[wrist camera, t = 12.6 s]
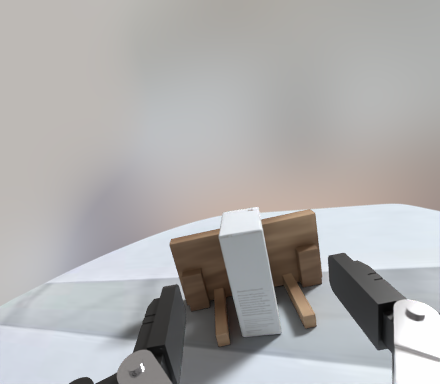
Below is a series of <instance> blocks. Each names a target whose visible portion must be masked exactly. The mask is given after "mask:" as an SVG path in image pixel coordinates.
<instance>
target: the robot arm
mask: <svg viewBox="0 0 440 384" xmlns="http://www.w3.org/2000/svg"><path fill="white" fill-rule="evenodd" d="M328 266H329V281H330V285H331V288H332V290H333V292H334V294H335V295H336V296H337V298H338V299H339V300H340V301H341V303H342V304H343V305H344V307H345V308H346V309H347V311H348V312H349V313H350V315H351V316H352V317H353V319H354V320H355V321H356V322H357V324H358V325H359V326H360V328H361V329H362V330H363V332H364V333H365V334H366V336H367V337H368V338H369V340H370V341H371V342H372V343H373V345H374V346H375V347H376V349H377V350H383V349H389V350H390V351H391V353H392V384H440V313H437V312H436V311H435V310H434V309H433V308H431V307H430V306H428V305H426V304H424V303H421V302H419V301H415V300H407V299H406V298H405V297H404V296H403V295H402V294H401V293H399V292H398V291H397V290H396V289H395V288H394V287H392V286H391V285H390V284H389V283H388V282H387V281H385V280H384V279H383V278H382V277H381V276H380V275H379V274H376V272H375V271H374V270H373V269H372V268H370V267H369V266H368V265H366V264H364V263H362V262H360V261H353V260H352V259H351V258H350V257H349V256H347V255H346V254H345V253H340V254H335V255H330V256H329V257H328ZM185 324H186V312H185V307H184V303H183V299H182V296H181V292H180V288H179V286H178V284H176V285H171V286H165V287H163V289H162V292H161V296H160V298H157V299H154V300H153V301H152V302H151V304H150V305H149V306H148V308H147V311H146V314H145V318H144V320H143V325H142V326H141V329H140V332H139V336H138V339H137V342H136V345H135V348H134V351H133V353H132V354H131V355H129V356H128V357H127V358H126V359H125V360H124V361H123V362H122V363H121V365H120V367H119V369H118V372H117V373H115V374H114V375H112V376H110V377H108V378H106V379H104V380H102V381H100V382H98V383H96V384H179V381H180V371H181V362H182V353H183V343H184V334H185ZM69 384H94V383H93V381H92V380H91V379H90V378H88V377H83V378H79V379H76V380H74V381H72V382H71V383H69Z"/></svg>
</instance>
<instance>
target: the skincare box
mask: <svg viewBox="0 0 440 384" xmlns="http://www.w3.org/2000/svg"><path fill="white" fill-rule="evenodd" d="M219 241H220V245H221V250H222V254H223V258H224V262H225V266H226V270H227V275H228V279H229V283H230V287H231V291H232V295H233V299H234V303H235V308H236V312H237V316H238V320H239V324H240V328H241V332H242V336H243V337H251V336H261V335H273V334H281V333H282V330H281V324H280V318H279V311H278V306H277V301H276V296H275V291H274V286H273V281H272V276H271V270H270V265H269V260H268V254H267V249H266V244H265V239H264V233H263V228H262V222H261V217H260V212H259V208H258V207H255V208H248V209H242V210H236V211H230V212H224V213H223V215H222V220H221V226H220V232H219Z"/></svg>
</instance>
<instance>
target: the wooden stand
mask: <svg viewBox="0 0 440 384" xmlns="http://www.w3.org/2000/svg"><path fill="white" fill-rule="evenodd" d="M261 222H262V228H263V233H264V239H265V244H266V249H267V254H268V260H269V265H270V270H271V276H272V281H273V286H274V287H276V286H281V285H284V286H285V288H286V290H287V292H288V294H289V296H290V298H291V301H292V303H293V305H294V307H295V309H296V311H297V313H298V315H299V317H300V319H301V321H302V323H303V325H304V327H305V329H306V328H310V327H315V326H317V325H316V317H315V313H314V311H313V310H312V308H311V306H310V304H309V303H308V301H307V299H306V298H305V296H304V294H303V292H302V291H301V289H300V287H299V285H298V284H297V282H300V283H301V285H302V286H303V287H308V286H313V285H317V284H322V279H321V277H322V270H321V261H320V252H319V243H318V234H317V225H316V216H315V213H314V212H313V211H312V210H310V209H308V210H304V211H299V212H295V213H290V214H285V215H281V216H276V217H271V218H267V219H262V220H261ZM219 232H220V229H216V230H211V231H207V232H202V233H197V234H193V235H188V236H183V237H179V238H174V239H171V242H170V248H171V252H172V255H173V258H174V262H175V265H176V268H177V272H178V275H179V278H180V282H181V285H182V289H183V292H184V295H185V299H186V302H187V305H190V308H191V311H195V310H200V309H205V308H209V307H210V301H211V300H214V301H215V330H216V338H217V342H218V346H219V347H220V346H225V345H230V337H229V327H228V317H227V307H226V297H229V296H233V295H232V291H231V287H230V283H229V279H228V275H227V270H226V266H225V262H224V258H223V254H222V250H221V245H220V241H219Z"/></svg>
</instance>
